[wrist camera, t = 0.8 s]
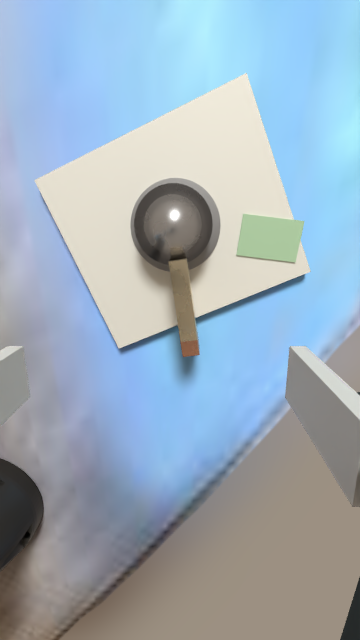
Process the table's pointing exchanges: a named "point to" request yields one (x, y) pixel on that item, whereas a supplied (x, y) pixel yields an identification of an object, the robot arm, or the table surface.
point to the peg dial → (176, 245)
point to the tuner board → (203, 176)
